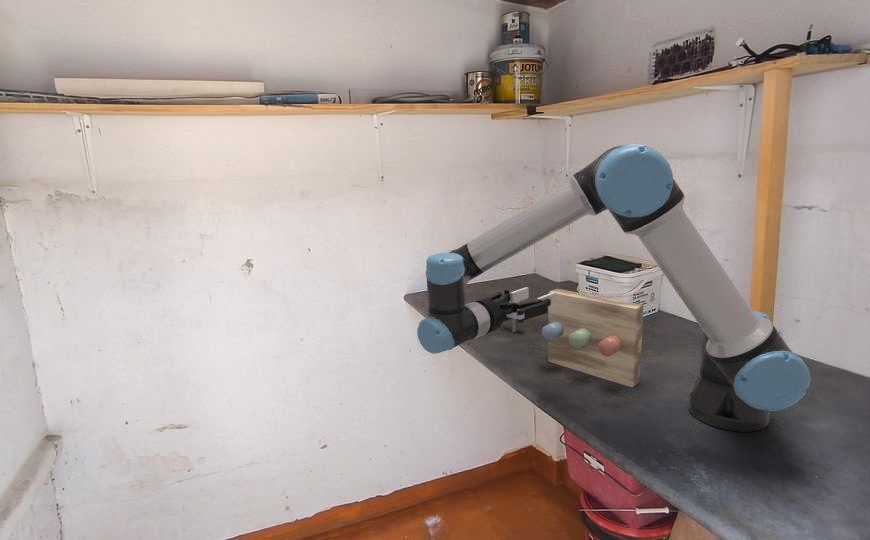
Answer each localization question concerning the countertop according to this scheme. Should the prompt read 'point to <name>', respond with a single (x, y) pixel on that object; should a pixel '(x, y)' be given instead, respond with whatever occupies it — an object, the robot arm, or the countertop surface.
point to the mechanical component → (514, 322)
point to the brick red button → (610, 345)
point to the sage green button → (580, 338)
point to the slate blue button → (552, 331)
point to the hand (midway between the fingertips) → (540, 295)
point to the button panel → (597, 335)
